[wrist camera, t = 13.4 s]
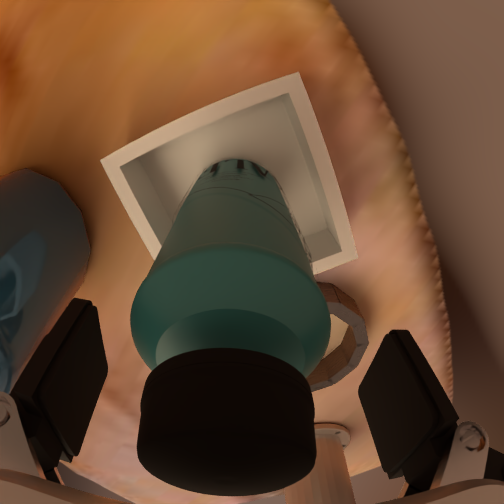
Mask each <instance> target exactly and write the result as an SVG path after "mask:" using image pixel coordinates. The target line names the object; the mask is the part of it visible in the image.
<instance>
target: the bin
mask: <svg viewBox="0 0 504 504" xmlns="http://www.w3.org/2000/svg"><path fill="white" fill-rule="evenodd" d="M228 157H230V158H228ZM242 157H243V158H242ZM223 158H224V159H225V160H227V159H232V158H233V159H237V158H238V159H245V160H246V159H247V160H249V161H251V159H252V162H253V161H254V162H255V163H256V161H257V164H259V165H260V163H261V165H260V166H262V167H263V168H264V169H266V170H268V171H269V173H270V174H271V175H272V176H274V177H275V178H276V180H277V181H278V183H279V184H278V183H277V184H278V187H280V186H279V185H281V187H282V189H283V191H282V190H280V191H281V194H282V196H283V195H284V196H283V198H284V197H285V198H284V201H285V203H286V205H287V208H288V207H289V208H290V209H289V210H290V211H291V212H290V211H289V213H291V214H293V215H294V217H293V215H291V218H292V217H293V218H295V220H296V221H295V220H294V219H293V221H295V222H294V224H296V226H297V227H299V229H296V230H297V232H298V233H299V231H298V230H300V233H301V232H302V233H301V234H300V233H299V234H300V240H301V242H302V245H303V247H304V250H305V252H306V250H307V251H308V252H310V253H308V252H306V253H307V257H308V258H309V259H310V258H312V259H310V261H312V262H311V263H310V266H311V264H313V265H312V266H313V270H312V271H313V275H315V274H318V273H321V272H323V271H326V270H329V269H331V268H334V267H337V266H339V265H342V264H345V263H347V262H350V261H352V260H355V259H357V258H358V254H357V250H356V246H355V242H354V238H353V235H352V231H351V227H350V223H349V220H348V216H347V212H346V209H345V205H344V202H343V198H342V195H341V192H340V188H339V185H338V182H337V178H336V175H335V172H334V169H333V166H332V162H331V159H330V156H329V153H328V150H327V147H326V144H325V141H324V138H323V135H322V133H321V130H320V127H319V124H318V121H317V119H316V116H315V113H314V110H313V108H312V105H311V102H310V100H309V97H308V94H307V92H306V89H305V87H304V84H303V82H302V79H301V77H300V74H299V72H296V73H293V74H290V75H287V76H284V77H281V78H278V79H275V80H272V81H269V82H266V83H263V84H260V85H258V86H255V87H252V88H249V89H247V90H244V91H242V92H239V93H236V94H234V95H231V96H229V97H226V98H224V99H222V100H219V101H217V102H214V103H212V104H210V105H207V106H205V107H203V108H200V109H198V110H196V111H194V112H191V113H189V114H187V115H185V116H183V117H181V118H178V119H176V120H174V121H172V122H170V123H168V124H166V125H164V126H162V127H160V128H158V129H156V130H154V131H152V132H150V133H148V134H146V135H144V136H142V137H140V138H139V139H137V140H135V141H133V142H131V143H129V144H128V145H126V146H124V147H122V148H120V149H119V150H117V151H115V152H113V153H112V154H110V155H108V156H106V157H105V158H103V159H101V160H100V161H101V163H102V165H103V167H104V169H105V171H106V173H107V175H108V177H109V179H110V181H111V183H112V185H113V187H114V189H115V191H116V193H117V195H118V196H119V198H120V200H121V202H122V204H123V206H124V208H125V210H126V211H127V213H128V215H129V217H130V219H131V221H132V222H133V224H134V226H135V228H136V229H137V231H138V233H139V235H140V237H141V238H142V240H143V242H144V244H145V245H146V247H147V249H148V250H149V252H150V254H151V256H152V257H153V259H154V261H155V259H156V257H157V255H158V253H159V251H160V249H161V247H162V245H163V243H164V241H165V239H166V237H167V235H168V233H169V231H170V229H171V228H172V226H173V224H174V222H175V220H176V217H177V214H178V212H179V210H180V209H179V208H181V206H182V205H183V202H184V201H185V198H186V197H187V196H188V194H189V192H190V191H191V189H192V187H193V186H194V184H195V182H196V181H197V179H198V178H199V176H200V175H201V174H202V173H203V172H204V171H205V170H206V169H207V167H210V166H211V165H213V164H215V163H217V160H218V162H220V161H223V160H224V159H223ZM219 160H220V161H219ZM214 162H215V163H214ZM258 162H259V163H258ZM210 164H211V165H210ZM204 168H205V170H204ZM201 170H202V171H201ZM203 170H204V171H203ZM197 175H198V176H197ZM274 177H273V178H274ZM195 178H196V179H195ZM275 178H274V179H275ZM276 180H275V181H276ZM277 181H276V182H277ZM192 182H193V184H192ZM190 186H191V187H190ZM281 187H280V188H281ZM280 188H279V189H280ZM188 190H189V191H188ZM187 191H188V193H187ZM283 193H284V194H283ZM186 194H187V196H186ZM184 196H185V198H184ZM286 198H287V199H286ZM182 199H183V201H182ZM286 200H288V201H286ZM181 201H182V202H181ZM181 204H182V205H181ZM180 205H181V206H180ZM288 205H290V206H288ZM176 212H177V213H176ZM292 212H293V213H292ZM174 213H175V214H174ZM173 216H174V217H173ZM297 223H298V224H297ZM296 226H295V227H296ZM297 227H296V228H297ZM299 234H298V235H299ZM302 235H303V236H302ZM301 237H302V238H301ZM303 238H304V239H305V240H304V239H303ZM303 240H304V241H305V243H304V241H303ZM306 245H307V246H306ZM305 247H306V248H305ZM307 247H308V248H307ZM308 249H309V250H308ZM309 254H310V256H311V257H310V256H309ZM316 269H317V270H316ZM317 272H318V273H317Z"/></svg>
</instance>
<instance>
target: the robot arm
mask: <svg viewBox="0 0 504 504" xmlns="http://www.w3.org/2000/svg"><path fill="white" fill-rule="evenodd" d="M107 373H108V364H107V360H106V355H105V350H104V345H103V340H102V334H101V329H100V323H99V317H98V311H97V307H96V306H93V304H92V302H91V301H90V300H84V299H79V298H73V299H72V300H71V302H70V303H69V305H68V306H67V307H66V309H65V310H64V312H63V313H62V315H61V316H60V317H59V319H58V320H57V322H56V323H55V325H54V326H53V328H52V329H51V331H50V332H49V334H47V335H46V336H45V337H44V338H43V340H42V341H41V343H40V344H39V346H38V347H37V349H36V350H35V352H34V354H33V355H32V357H31V358H30V360H29V362H28V363H27V365H26V367H25V368H24V370H23V372H22V373H21V375H20V377H19V378H18V380H17V382H16V383H15V385H14V387H13V389H12V390H11V392H10V394H7V393H5V392H1V391H0V504H131V503H127V502H122V501H118V500H114V499H110V498H106V497H102V496H97V495H94V494H91V493H87V492H84V491H80V490H77V489H74V488H71V487H67V486H65V485H64V483H63V481H62V479H61V477H60V475H59V472H58V470H57V468H56V467H57V466H58V463H59V460H60V459H61V460H63V461H66V462H69V463H71V462H72V459H73V456H78V455H79V452H80V450H81V446H82V443H83V440H84V437H85V434H86V431H87V429H88V426H89V423H90V420H91V417H92V414H93V411H94V409H95V406H96V403H97V400H98V398H99V395H100V392H101V390H102V387H103V384H104V382H105V379H106V377H107ZM358 395H359V398H360V401H361V404H362V407H363V410H364V413H365V416H366V419H367V422H368V425H369V428H370V431H371V434H372V437H373V440H374V443H375V446H376V449H377V452H378V456H379V459H380V462H381V465H382V468H383V470H384V472H387V474H388V477H389V479H393V478H398V477H402V476H403V475H404V477H405V480H406V481H405V483H404V486H403V488H402V490H401V492H400V494H399V496H398V498H397V499H394V500H390V501H386V502H382V503H377V504H504V454H502V453H500V452H498V451H496V450H494V449H492V448H490V447H489V438H488V435H487V433H486V431H485V430H484V429H483V428H482V427H481V426H480V425H479V424H477V423H475V422H472V421H465V422H462V423H460V424H459V425H457V423H456V421H457V420H458V419H459V417H458V415H457V413H456V411H455V409H454V407H453V406H452V404H451V402H450V400H449V398H448V396H447V395H446V393H445V391H444V389H443V387H442V386H441V384H440V382H439V380H438V379H437V377H436V375H435V373H434V372H433V370H432V368H431V367H430V365H429V363H428V362H427V360H426V358H425V357H424V355H423V353H422V352H421V350H420V348H419V347H418V345H417V343H416V342H415V340H414V339H413V337H412V335H411V334H410V332H409V331H408V330H391V331H390V332H389V334H386V335H385V337H384V339H383V341H382V343H381V345H380V347H379V349H378V351H377V353H376V355H375V357H374V359H373V361H372V363H371V365H370V367H369V369H368V371H367V373H366V375H365V377H364V378H363V380H362V382H361V384H360V386H359V389H358ZM314 427H315V437H316V448H317V457H316V460H315V465H314V468H313V469H312V471H311V472H310V473H309V474H308V475H307V476H306V477H304V478H303V479H302V480H300V481H298V482H296V483H295V484H292V485H290V486H288V487H285V488H284V491H285V500H286V504H356V502H355V498H354V493H353V489H352V485H351V480H350V476H349V472H348V468H347V464H346V459H345V455H344V451H343V449H345V448H346V447H347V445H348V444H349V442H350V434H349V431H348V430H347V429H346V428H345V427H343V426H340V425H337V424H314Z"/></svg>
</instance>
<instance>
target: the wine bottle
mask: <svg viewBox="0 0 504 504" xmlns="http://www.w3.org/2000/svg"><path fill="white" fill-rule="evenodd" d="M90 251H91V245H90V241H89V238H88V234H87V230H86V226H85V223H84V219H83V214H82V211H81V209H80V208H79V207H78V206H77V204H76V203H75V202H74V201H73V199H72V198H71V197H70V195H69V194H68V193H67V192H66V190H65V189H64V188H63V186H62V185H61V184H60V182H58V181H55V180H53V179H51V178H49V177H46V176H44V175H42V174H40V173H37V172H35V171H33V170H30V169H27V168H25V169H22V170H18V171H15V172H12V173H8V174H5V175H2V176H0V391H1V392H5V393H7V394H10V392H11V390H12V389H13V387H14V385H15V383H16V382H17V380H18V378H19V377H20V375H21V373H22V372H23V370H24V368H25V367H26V365H27V363H28V362H29V360H30V358H31V357H32V355H33V354H34V352H35V350H36V349H37V347H38V346H39V344H40V343H41V341H42V340H43V338H44V337H45V336H46V335H47V334H49V332H50V331H51V329H52V328H53V326H54V325H55V323H56V322H57V320H58V319H59V317H60V316H61V315H62V313H63V312H64V310H65V309H66V307H67V306H68V304H69V303H70V301H71V300H72V298H73V297H74V295H75V294H76V292H77V291H78V289H79V288H80V286H81V285H82V284H83V282H84V279H85V274H86V269H87V264H88V260H89V255H90Z"/></svg>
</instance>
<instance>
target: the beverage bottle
mask: <svg viewBox="0 0 504 504" xmlns="http://www.w3.org/2000/svg"><path fill="white" fill-rule="evenodd" d="M228 158H230V157H228ZM242 158H243V157H242ZM223 159H224V158H223ZM219 161H220V160H219ZM214 163H215V162H214ZM258 163H259V162H258ZM210 165H211V164H210ZM260 165H261V163H260ZM260 165H259V164H257V161H256V163H255V162H254V161H253V162H252V159H251V161H249V160H247V159H246V160H245V159H238V158H237V159H233V158H232V159H227V160H225V159H224V160H223V161H220V162H218V160H217V163H215V164H213V165H211V166H210V167H207V169H206V170H205V168H204V170H205V171H204V170H203V171H204V172H203V173H202V174H201V175H200V176H199V178H198V179H197V181H196V182H195V184H194V186H193V187H192V189H191V191H190V192H189V194H188V196H187V194H186V196H187V197H186V198H185V196H184V198H185V201H184V202H183V205H182V204H181V205H182V206H181V205H180V206H181V208H179V209H180V210H179V212H178V214H177V217H176V220H175V222H174V224H173V226H172V228H171V229H170V231H169V233H168V235H167V237H166V239H165V241H164V243H163V245H162V247H161V249H160V251H159V253H158V255H157V257H156V259H155V261H154V263H153V265H152V267H151V269H150V271H149V273H148V275H147V277H146V278H145V280H144V281H143V282H142V284H141V286H140V287H139V289H138V291H137V293H136V296H135V298H134V301H133V304H132V309H131V314H130V324H131V332H132V337H133V340H134V343H135V346H136V348H137V350H138V353H139V354H140V356H141V357H142V359H143V360H144V362H145V363H146V364H147V366H148V367H149V368H150V369H151V370H152V372H151V373H150V374H149V376H148V378H147V380H146V382H145V386H144V390H143V394H142V398H141V405H140V406H141V418H140V425H139V432H138V440H137V454H138V459H139V461H140V463H141V464H142V465H143V467H144V468H145V469H146V470H147V471H148V472H150V473H151V474H152V475H154V476H155V477H157V478H158V479H160V480H162V481H164V482H166V483H168V484H170V485H173V486H176V487H178V488H181V489H185V490H188V491H192V492H197V493H202V494H208V495H217V496H248V495H257V494H263V493H268V492H272V491H276V490H280V489H283V488H285V487H288V486H290V485H292V484H295V483H296V482H298V481H300V480H302V479H303V478H304V477H306V476H307V475H308V474H309V473H310V472H311V471H312V469H313V468H314V465H315V460H316V457H317V448H316V437H315V427H314V417H315V408H314V402H313V397H312V392H311V388H310V385H309V383H308V381H307V380H306V378H307V377H308V376H309V375H310V374H311V373H312V371H313V370H314V369H315V368H316V366H317V365H318V364H319V362H320V361H321V359H322V357H323V356H324V354H325V351H326V349H327V346H328V343H329V339H330V331H331V319H330V312H329V309H328V305H327V302H326V299H325V297H324V295H323V293H322V291H321V289H320V288H319V286H318V285H317V283H316V280H315V278H314V275H313V271H312V270H313V266H312V265H313V264H311V266H310V263H311V262H312V261H310V259H312V258H310V259H309V258H308V257H307V253H306V252H308V251H307V250H306V252H305V250H304V247H303V245H302V242H301V240H300V234H301V233H302V232H301V233H300V230H298V231H299V233H300V234H299V233H298V232H297V230H296V229H299V227H297V226H296V224H294V222H295V221H296V220H295V218H293V217H294V215H293V214H291V213H289V211H290V210H289V209H290V208H289V207H288V208H287V205H286V203H285V201H284V198H285V197H284V198H283V196H284V195H283V196H282V194H281V191H280V190H282V191H283V189H282V187H281V185H279V186H280V187H281V188H280V187H278V184H279V183H278V181H277V180H276V178H275V177H274V176H272V175H271V174H270V173H269V171H268V170H266V169H264V168H263V167H262V166H260ZM201 171H202V170H201ZM197 176H198V175H197ZM273 177H274V178H275V179H274V178H273ZM195 179H196V178H195ZM275 180H276V181H277V182H276V181H275ZM277 183H278V184H277ZM192 184H193V182H192ZM190 187H191V186H190ZM279 188H280V189H279ZM188 191H189V190H188ZM188 191H187V193H188ZM283 194H284V193H283ZM286 199H287V198H286ZM182 201H183V199H182ZM182 201H181V202H182ZM286 201H288V200H286ZM288 206H290V205H288ZM290 212H291V211H290ZM176 213H177V212H176ZM292 213H293V212H292ZM174 214H175V213H174ZM291 215H293V217H292V218H291ZM173 217H174V216H173ZM293 219H294V220H295V221H293ZM297 224H298V223H297ZM295 226H296V227H297V228H296V227H295ZM298 234H299V235H298ZM302 236H303V235H302ZM301 238H302V237H301ZM303 239H304V238H303ZM304 240H305V239H304ZM304 240H303V241H304ZM304 243H305V241H304ZM306 246H307V245H306ZM305 248H306V247H305ZM307 248H308V247H307ZM308 250H309V249H308ZM308 253H310V252H308ZM309 256H310V254H309ZM310 257H311V256H310ZM316 270H317V269H316ZM317 273H318V272H317Z"/></svg>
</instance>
